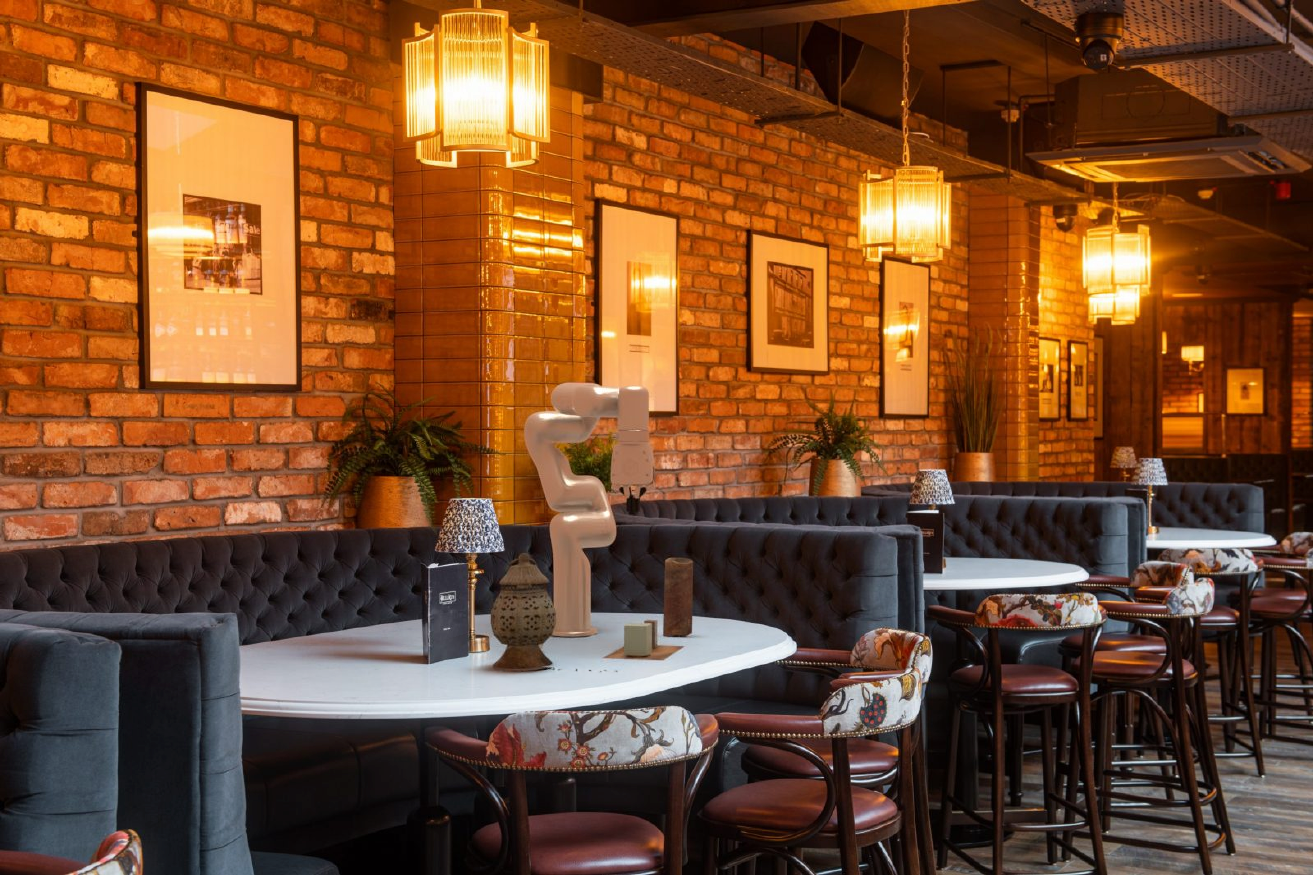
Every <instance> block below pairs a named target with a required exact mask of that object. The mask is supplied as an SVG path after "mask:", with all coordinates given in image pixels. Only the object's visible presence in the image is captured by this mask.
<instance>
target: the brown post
mask: <svg viewBox="0 0 1313 875" xmlns="http://www.w3.org/2000/svg"><path fill="white" fill-rule="evenodd" d="M643 623H652V649H656V648H657V645H658V619H646V620H643Z"/></svg>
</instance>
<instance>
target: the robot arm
mask: <svg viewBox="0 0 1313 875" xmlns="http://www.w3.org/2000/svg"><path fill="white" fill-rule="evenodd" d="M649 393H650V392H649V390H648V388H646V387H644V386H639V385H638V386H608V385H607V386H604V385H603V386H602V385H600V384H597V383H595V382H594V383H593V382H564V383H561V384H559V385H557V386H556V387H555V388H554V389H553V390H552V391H551V394H550V402H551V406H552V407H553V408H554V410H545V411H543V410H542V411H538V412H534V413H532V414H530V415H529V416H528V417H527V419H526V421H525V423H524V427H523V430H524V432H523V434H524V442H525V446H526V450H527V452H528V455H529V456H530V458H531V460H532V461H533V463H534V465H535V467H536V470H537V473H538V476H539V479H540V482H541V487H542V490H543V492H544V493H543V494H544V497H545V499H546V502H547V505H548V506H549V508H550V510H552V511H555V512H557V513H558V512H559V513H558V514H556V515H554V516H553V517H552V518H551V520H550V523H549V535H550V539H551V540H550V541H551V547H552V554H553V555H552V557H553V560H552V561H553V605H554V608H555V610H556V625H555V628H554V631H553V633H552V635H551V636H554V637H566V638H569V637H570V638H574V637H587V636H588V637H589V636H594V635H596V634H597V631H598V630H597V628H595V627H592V625H591V623H592V622H591V619H592V616H591V609H592V608H591V606H592V605H591V604H592V603H591V601H592V600H591V593H592V592H591V590H592V589H591V588H592V587H591V586H592V585H591V583H592V582H591V578H592V577H591V571H592V570H591V564H590V561H589V559H588V556H587V555H586V554H585V553H584V551H583V550H584V549H586V548H587V549H588V548H603V547H608V546H610V545H612V544H613V543H614V541H615V540H616V537H617V525H616V520H615V517H614V513H613V510H612V507H611V503H610V500H609V498H608V494H607V492H606V489H605V486H604V484H603V482H602V481H601V480H600V479H599V478H598V477H596V476H593V475H577V474H575V473H573V472H572V469H571V466H570V462H569V460H568V458H567V456H566V455H565V454H564V453H563V452H562V451H561V450H560V449H559V448H557V446H555V444H580V443H583V442H585V441H587V440H588V439H589V438H590V436H591V435H592V433H593V431H594V430H595V428H596V426H597V424H598V423H599V421H600V419H601V418H614V419H616V418H617V430H616V432H614V433H611V439H613V440H616V442H617V443H614V444H613V448H612V455H611V462H610V464H611V465H610V482H611V487H610V489H611V490H613V491H616V492H620V493H621V494H622V495H623V496H624V498H625V499H626V500H625V501H626V508H625V509H626V512H628V513H627V514H628V516H638V515H639V512H641V498H642V496H644V494H646V492H647V493H648V492H650V491H655V490H656V484H655V481H656V469H655V468H656V467H655V458H654V450H653V446H652V443H650V394H649ZM632 486H635V488H634V493H633V491H632ZM633 494H634V495H633Z"/></svg>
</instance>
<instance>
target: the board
mask: <svg viewBox="0 0 1313 875" xmlns="http://www.w3.org/2000/svg"><path fill="white" fill-rule="evenodd" d="M684 647H685V646H683V645H663V644H662V645H661V644H659V645H658V644H657V648H656V649H652V653H650V654H648V655H647V656H643V657H635V656H631V655H624V646H621V647H620V648H619V649H616V650H615V651H613V652H611V653H609V654H607V655H605V656H604V657H602V659H612V660H613V659H615V660H616V659H619V660H639V661H640V660H642V661H643V660H644V661H665V660H666V659H668V658H669V657H671V656H672V655H673V654H675V653H676V652H678V651H680V650H681V649H682V648H684Z"/></svg>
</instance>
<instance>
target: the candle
mask: <svg viewBox="0 0 1313 875" xmlns="http://www.w3.org/2000/svg"><path fill="white" fill-rule="evenodd" d="M693 576H694V561H693V560H692V559H690V558H686V557H669V558H666V559H665V560H664V590H663V592H664V593H663V621H662V622H663V624H662V626H663V627H662V636H663V637H667V638H685V637H687V636H690V635H692V634H693V593H694V592H693V587H694V586H693V583H694V580H693V578H694V577H693Z"/></svg>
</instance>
